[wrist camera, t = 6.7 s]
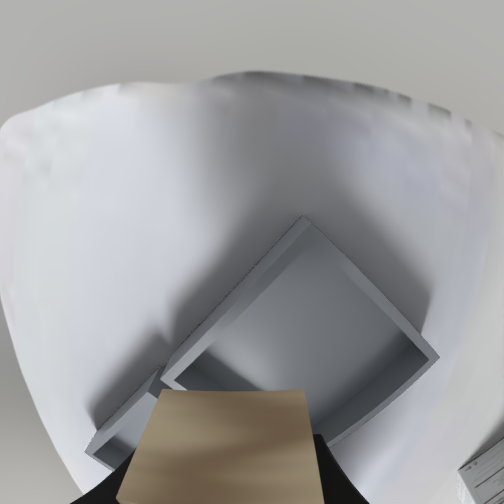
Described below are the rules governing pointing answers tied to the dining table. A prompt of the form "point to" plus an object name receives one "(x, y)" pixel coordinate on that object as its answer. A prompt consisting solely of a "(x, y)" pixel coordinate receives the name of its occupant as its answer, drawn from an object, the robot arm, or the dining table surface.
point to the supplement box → (483, 478)
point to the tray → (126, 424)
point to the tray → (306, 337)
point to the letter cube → (225, 450)
